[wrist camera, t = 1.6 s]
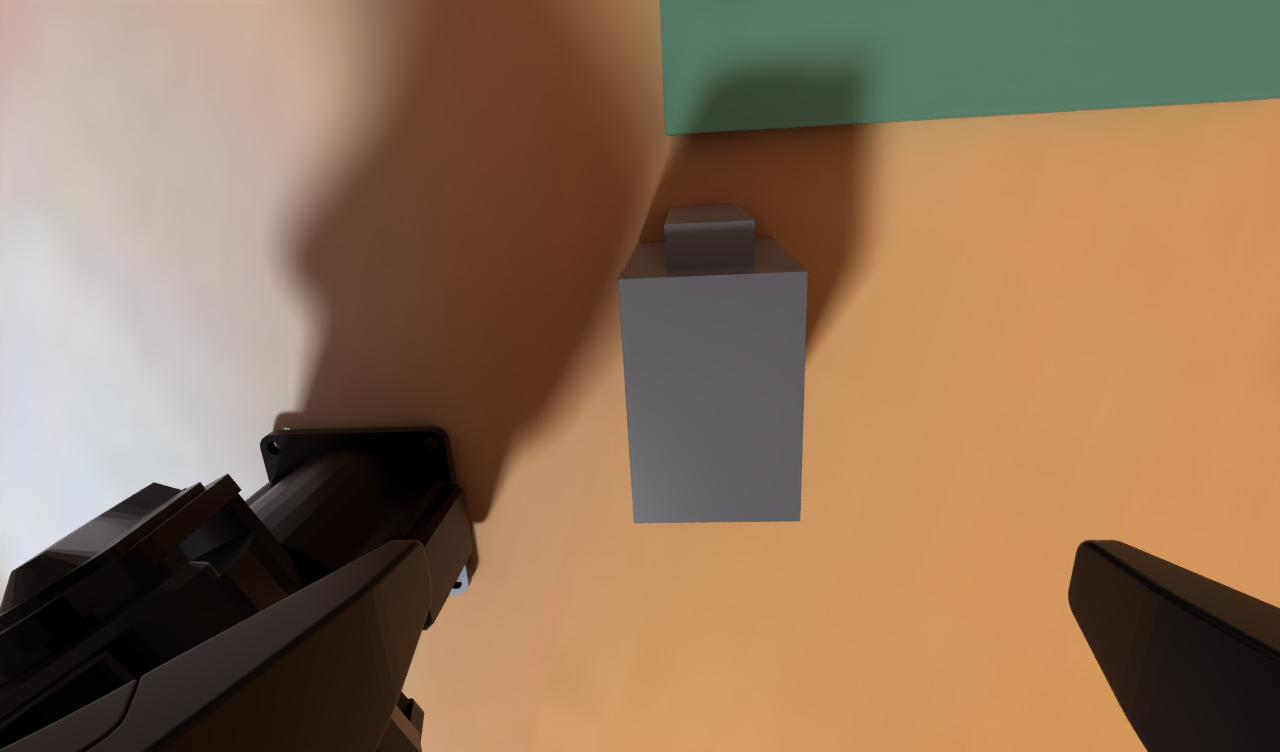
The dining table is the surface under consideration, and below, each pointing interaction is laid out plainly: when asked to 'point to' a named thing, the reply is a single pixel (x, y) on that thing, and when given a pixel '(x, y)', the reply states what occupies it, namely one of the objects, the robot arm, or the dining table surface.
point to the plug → (714, 371)
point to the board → (955, 59)
